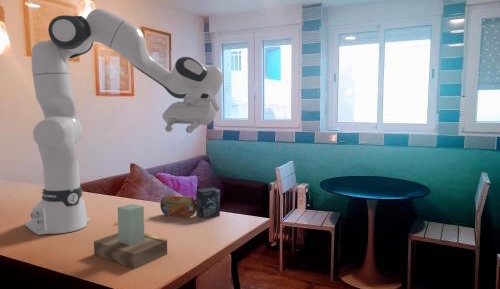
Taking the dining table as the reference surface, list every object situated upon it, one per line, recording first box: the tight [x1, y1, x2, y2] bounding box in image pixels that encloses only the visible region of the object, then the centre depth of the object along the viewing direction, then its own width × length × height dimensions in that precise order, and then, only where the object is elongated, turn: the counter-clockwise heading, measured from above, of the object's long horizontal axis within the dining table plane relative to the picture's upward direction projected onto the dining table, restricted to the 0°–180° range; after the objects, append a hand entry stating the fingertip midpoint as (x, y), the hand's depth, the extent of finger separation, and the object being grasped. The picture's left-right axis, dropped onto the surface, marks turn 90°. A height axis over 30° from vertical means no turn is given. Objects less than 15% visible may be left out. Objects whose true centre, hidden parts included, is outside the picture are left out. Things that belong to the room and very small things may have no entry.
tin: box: [160, 194, 196, 219], centre depth 143 cm, size 15×3×8 cm, turn 69°
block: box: [117, 203, 145, 246], centre depth 105 cm, size 5×5×10 cm
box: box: [195, 187, 221, 220], centre depth 144 cm, size 8×6×11 cm
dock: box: [93, 232, 168, 269], centre depth 106 cm, size 17×12×4 cm
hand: (177, 131), depth 123 cm, fingers open, 8 cm apart
